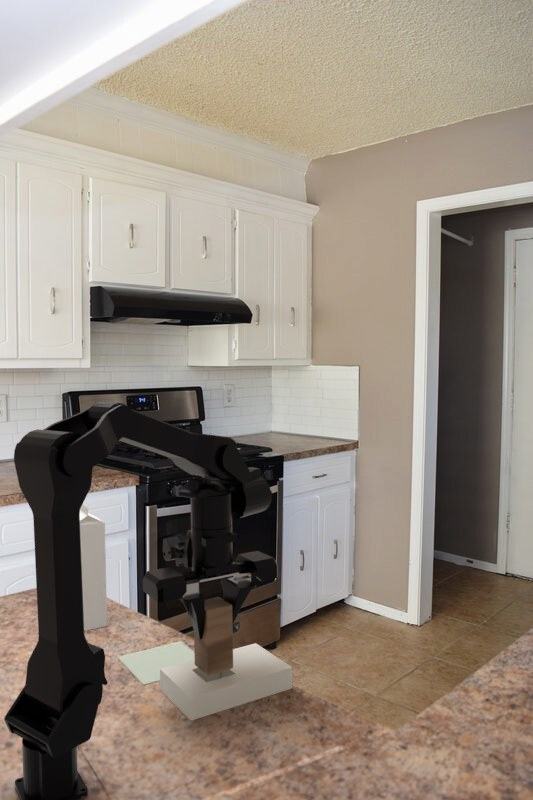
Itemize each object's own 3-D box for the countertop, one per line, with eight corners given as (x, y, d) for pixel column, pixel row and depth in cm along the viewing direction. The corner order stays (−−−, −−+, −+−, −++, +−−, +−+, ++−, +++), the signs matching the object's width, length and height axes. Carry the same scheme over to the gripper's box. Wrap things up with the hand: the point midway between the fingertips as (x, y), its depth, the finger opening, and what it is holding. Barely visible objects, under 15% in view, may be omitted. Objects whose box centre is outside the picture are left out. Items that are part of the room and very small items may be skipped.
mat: (211, 669, 104) (211, 665, 104) (143, 688, 98) (143, 684, 98) (180, 644, 113) (180, 641, 113) (117, 660, 108) (117, 656, 108)
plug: (233, 668, 95) (232, 605, 95) (207, 675, 93) (206, 610, 92) (219, 657, 98) (218, 596, 98) (194, 664, 96) (193, 602, 96)
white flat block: (292, 691, 97) (292, 667, 97) (190, 724, 89) (190, 697, 88) (256, 665, 105) (255, 643, 105) (160, 692, 97) (159, 668, 97)
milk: (73, 633, 119) (69, 509, 117) (65, 622, 124) (61, 502, 122) (108, 626, 122) (104, 504, 120) (98, 615, 127) (95, 498, 125)
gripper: (240, 506, 106) (241, 604, 107) (126, 522, 96) (129, 630, 97) (279, 520, 97) (280, 627, 98) (158, 540, 87) (160, 659, 88)
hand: (213, 634), depth 95 cm, fingers closed on plug, 4 cm apart
